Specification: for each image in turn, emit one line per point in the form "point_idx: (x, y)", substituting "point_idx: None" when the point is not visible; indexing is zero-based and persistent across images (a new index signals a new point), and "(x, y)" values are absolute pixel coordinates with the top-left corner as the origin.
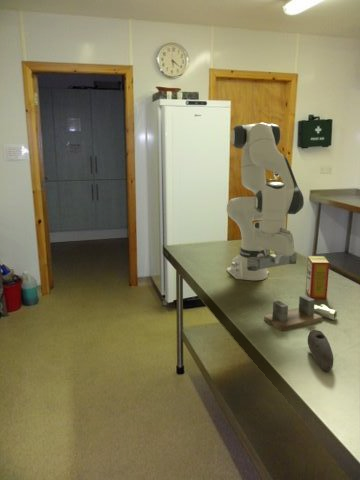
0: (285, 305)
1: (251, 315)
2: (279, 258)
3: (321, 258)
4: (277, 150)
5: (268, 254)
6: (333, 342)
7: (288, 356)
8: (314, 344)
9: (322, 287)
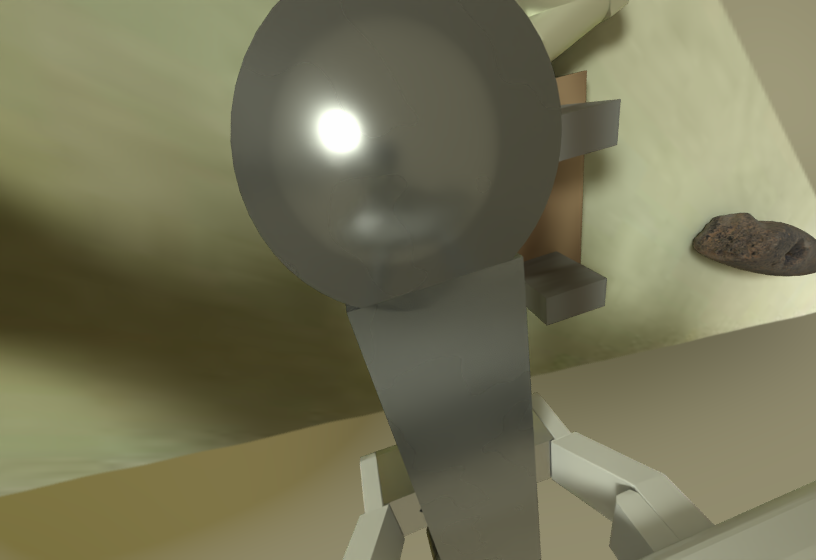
0: (598, 286)
1: None
2: (582, 436)
3: None
4: None
5: (390, 538)
6: (700, 142)
7: (671, 304)
8: (777, 275)
9: None
